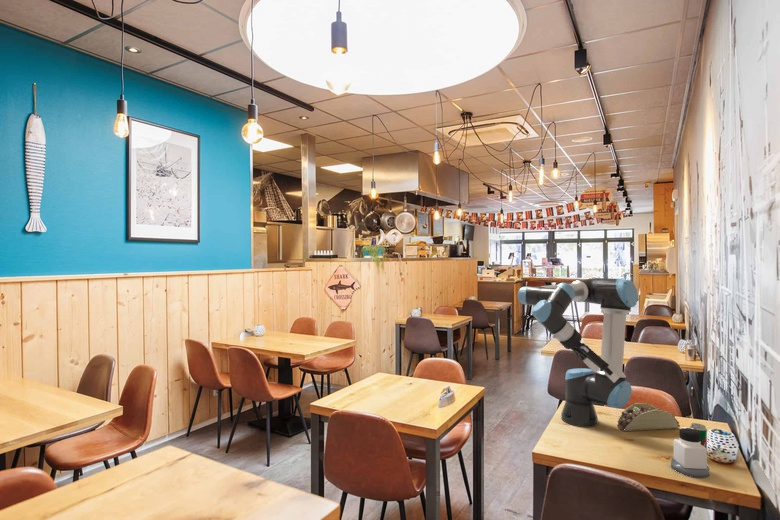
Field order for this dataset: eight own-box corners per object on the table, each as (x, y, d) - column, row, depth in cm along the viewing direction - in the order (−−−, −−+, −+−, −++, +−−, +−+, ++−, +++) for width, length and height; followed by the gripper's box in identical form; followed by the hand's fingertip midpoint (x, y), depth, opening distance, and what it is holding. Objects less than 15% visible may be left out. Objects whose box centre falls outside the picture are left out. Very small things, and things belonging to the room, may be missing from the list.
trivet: (667, 460, 157) (667, 455, 157) (702, 465, 154) (702, 459, 154) (676, 474, 147) (676, 468, 147) (714, 480, 143) (714, 473, 143)
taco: (612, 426, 191) (612, 403, 191) (668, 423, 194) (668, 401, 194) (627, 435, 181) (627, 410, 181) (685, 432, 185) (685, 408, 185)
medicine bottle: (707, 469, 146) (707, 433, 146) (684, 468, 147) (684, 433, 147) (694, 459, 154) (694, 425, 154) (673, 458, 154) (673, 425, 154)
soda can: (703, 456, 161) (704, 423, 161) (708, 462, 157) (709, 428, 157) (687, 454, 163) (688, 421, 163) (692, 459, 158) (692, 426, 158)
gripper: (546, 336, 175) (583, 373, 176) (574, 349, 150) (617, 392, 151) (559, 323, 175) (596, 360, 176) (590, 333, 150) (632, 376, 151)
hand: (606, 374), depth 163 cm, fingers open, 13 cm apart
